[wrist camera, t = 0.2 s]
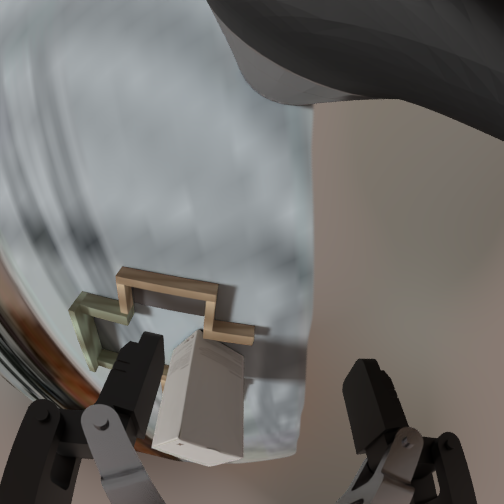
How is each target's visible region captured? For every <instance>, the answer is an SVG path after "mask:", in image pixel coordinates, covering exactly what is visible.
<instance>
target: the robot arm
mask: <svg viewBox="0 0 504 504" xmlns="http://www.w3.org/2000/svg"><path fill="white" fill-rule="evenodd" d="M207 2H208V4H209V6H210V8H211V10H212V12H213V14H214V16H215V18H216V20H217V22H218V24H219V26H220V28H221V30H222V32H223V34H224V35H225V37H226V40H227V42H228V44H229V46H230V48H231V50H232V53H233V55H234V57H235V59H236V62H237V64H238V66H239V69H240V71H241V73H242V75H243V76H244V78H245V80H246V81H247V83H248V84H249V85H250V86H251V87H252V88H253V89H254V90H255V91H256V92H258V93H259V94H260V95H261V96H263V97H265V98H267V99H269V100H271V101H274V102H277V103H281V104H286V105H296V106H297V105H309V104H315V103H324V102H336V101H348V100H349V101H350V100H368V99H400V100H404V101H407V102H410V103H413V104H416V105H419V106H422V107H425V108H428V109H430V110H433V111H435V112H438V113H440V114H443V115H445V116H447V117H450V118H452V119H454V120H457V121H459V122H461V123H464V124H466V125H468V126H471V127H473V128H475V129H477V130H480V131H482V132H484V133H486V134H489V135H491V136H493V137H495V138H498V139H500V140H502V141H504V0H207ZM164 364H165V356H164V339H163V335H160V334H155V333H151V332H146V331H145V332H143V334H142V336H141V339H140V341H139V343H136V342H132V341H130V342H128V343H127V344H126V345H125V346H124V347H123V348H121V350H120V352H119V354H118V356H117V358H116V361H115V362H114V365H113V367H112V370H111V371H110V373H109V375H108V378H107V380H106V382H105V384H104V387H103V389H102V391H101V393H100V396H99V398H98V400H97V401H96V403H95V404H94V405H92V406H90V407H88V408H87V409H85V410H66V409H58V408H57V406H56V405H55V404H54V403H53V402H51V401H49V400H46V399H39V400H36V401H34V402H33V403H31V405H30V406H29V407H28V410H27V412H26V414H25V416H24V419H23V421H22V423H21V426H20V428H19V431H18V433H17V436H16V438H15V441H14V444H13V446H12V449H11V452H10V455H9V458H8V461H7V464H6V467H5V470H4V473H3V477H2V480H1V484H0V504H71V501H72V497H73V492H74V487H75V483H76V478H77V475H78V470H79V467H80V463H81V459H82V458H85V459H94V460H95V463H96V465H97V468H98V470H99V472H100V475H101V483H102V486H103V488H104V490H105V492H106V494H107V496H108V498H109V500H110V502H111V504H166V503H165V502H164V500H163V499H162V497H161V496H160V494H159V492H158V491H157V489H156V488H155V486H154V484H153V483H152V481H151V479H150V478H149V476H148V474H147V472H146V471H145V469H144V467H143V465H142V463H141V462H140V459H139V457H138V456H137V454H136V452H135V450H134V444H135V440H136V437H137V438H141V439H144V437H145V434H146V430H147V426H148V423H149V419H150V415H151V412H152V408H153V405H154V401H155V398H156V395H157V391H158V388H159V384H160V381H161V378H162V375H163V371H164ZM394 389H395V388H394V385H393V383H392V381H391V378H390V377H389V376H388V375H387V374H386V373H385V371H384V370H382V371H381V370H380V367H379V365H378V362H377V361H376V360H375V359H358V360H357V361H356V362H355V364H354V366H353V367H352V369H351V371H350V372H349V374H348V375H347V377H346V378H345V381H344V383H343V389H342V390H343V396H344V400H345V404H346V408H347V412H348V417H349V421H350V426H351V430H352V435H353V439H354V444H355V449H356V454H364V453H366V455H367V458H366V459H365V460H364V462H363V464H362V466H361V467H360V469H359V471H358V473H357V474H356V476H355V478H354V480H353V482H352V483H351V485H350V486H349V488H348V490H347V491H346V492H345V494H344V495H343V496H342V497H341V498H339V499H338V501H337V502H336V503H335V504H477V501H476V496H475V492H474V488H473V484H472V480H471V476H470V473H469V469H468V466H467V462H466V459H465V456H464V452H463V449H462V446H461V443H460V441H459V439H458V437H457V436H456V435H455V434H453V433H451V432H445V433H443V434H442V435H441V436H439V437H438V438H429V437H422V435H421V434H420V433H419V431H418V430H416V429H415V428H412V427H409V425H408V423H407V420H406V417H405V415H404V412H403V409H402V407H401V404H400V401H399V398H397V393H396V391H395V390H394ZM434 471H436V473H437V478H438V482H439V486H440V493H439V496H437V494H436V489H435V484H434V480H433V475H432V473H433V472H434Z"/></svg>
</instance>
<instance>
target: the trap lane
mask: <svg viewBox="0 0 504 504" xmlns="http://www.w3.org/2000/svg"><path fill="white" fill-rule="evenodd" d="M116 284H117V291H118V298H119V301H118V300H114V299H109V298H105V297H101V296H98V295H94V294H90V293H86V292H81V293H80V295H79V296H78V297H77V299H76V300H75V301H74V303H73V304H72V305H71V307H70V308H69V310H68V311H69V314H70V317H71V320H72V324H73V327H74V330H75V332H76V335H77V338H78V341H79V344H80V346H81V349H82V352H83V354H84V357H85V359H86V362H87V364H88V367H89V369H90V371H93V372H96V370H97V368H98V366H102V367H105V368H109V369H112V367H113V365H114V362H115V361H116V358H117V356H118V354H119V353H116V352H113V351H109V350H106V349H102V346H101V343H100V339H99V336H98V332H97V329H96V325H95V321H94V317H97V318H101V319H104V320H108V321H112V322H115V323H119V324H123V325H127V326H128V325H129V323H130V321H131V319H132V317H133V315H134V305H133V296H132V287H133V295H134V303H139V304H143V305H148V306H153V307H157V308H162V309H167V310H172V311H178V312H183V313H188V314H194V315H200V316H204V313H205V319H204V330H203V338H204V339H210V340H216V341H223V342H229V343H236V344H243V345H251V346H252V344H253V340H254V328H255V326H252V325H245V324H238V323H231V322H225V321H218V320H214V316H215V308H216V300H217V292H218V285H219V284H215V283H209V282H203V281H197V280H191V279H186V278H180V277H175V276H169V275H164V274H158V273H153V272H148V271H142V270H137V269H132V268H127V267H122V268H121V269H120V271H119V272H118V273H117V275H116ZM205 302H206V308H205ZM168 369H169V365H164V371H163V375H162V378H161V385H162V392H163V391H164V386H165V382H166V378H167V373H168Z"/></svg>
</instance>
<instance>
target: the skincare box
mask: <svg viewBox="0 0 504 504" xmlns="http://www.w3.org/2000/svg"><path fill="white" fill-rule="evenodd" d="M243 412H244V356H242V355H241V354H239V353H237V352H235V351H234V350H232V349H230V348H228V347H227V346H225V345H223V344H222V343H220V342H218V341H216V340H210V339H204V338H203V332H202V331H201V330H199V329H198V330H197V331H195V332H194V333H193V334H192V335H191V336H189V337H188V338H187V339H186V340H184V341H183V342H182V343H181V344H180V345H178V346H177V347H176V348H175V349H174V350H173V353H172V357H171V361H170V365H169V369H168V373H167V378H166V382H165V386H164V391H163V395H162V400H161V404H160V409H159V413H158V418H157V423H156V428H155V434H154V438H153V443H152V448H154V449H156V450H159V451H162V452H164V453H167V454H170V455H173V456H176V457H179V458H182V459H185V460H188V461H192V462H195V463H199V464H202V465H205V466H209V467H210V466H215V465H219V464H223V463H226V462H230V461H234V460H238V459H242V458H243Z"/></svg>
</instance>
